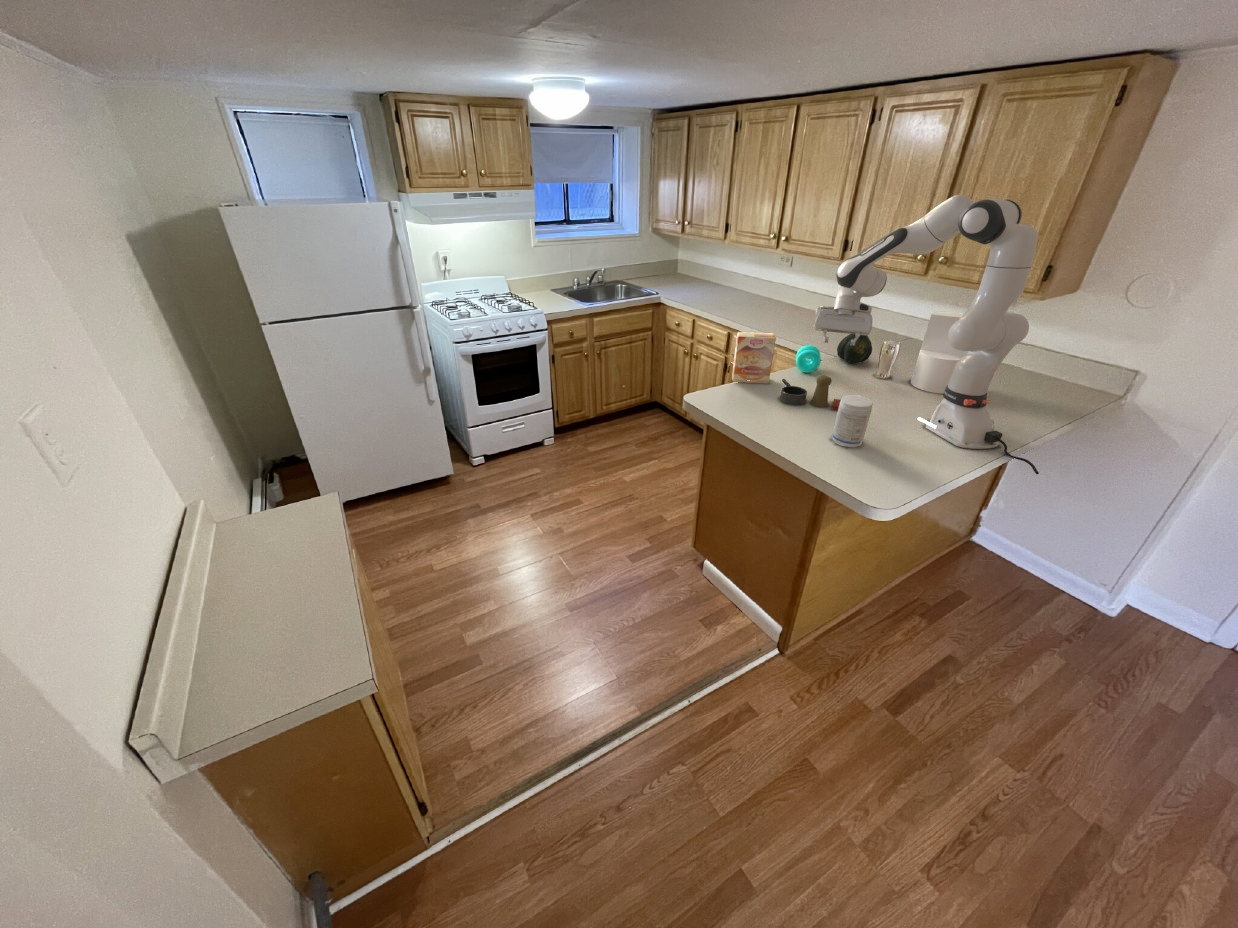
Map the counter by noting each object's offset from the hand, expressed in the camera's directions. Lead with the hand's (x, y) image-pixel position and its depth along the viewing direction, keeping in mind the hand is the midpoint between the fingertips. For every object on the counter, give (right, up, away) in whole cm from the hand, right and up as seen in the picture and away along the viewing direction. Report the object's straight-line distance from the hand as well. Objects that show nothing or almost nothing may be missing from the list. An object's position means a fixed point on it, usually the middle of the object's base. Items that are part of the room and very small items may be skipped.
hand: (838, 343), depth 192 cm
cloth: (+1, -24, -1) cm, 24 cm away
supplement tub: (-8, -38, -24) cm, 46 cm away
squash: (+24, +2, +43) cm, 50 cm away
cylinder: (+47, -13, +18) cm, 52 cm away
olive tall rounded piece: (-7, -23, +2) cm, 24 cm away
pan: (-16, -21, +5) cm, 27 cm away
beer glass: (+30, -8, +26) cm, 41 cm away
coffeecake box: (-28, -10, +23) cm, 37 cm away
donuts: (0, -4, +34) cm, 34 cm away
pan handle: (-16, -14, +11) cm, 24 cm away
